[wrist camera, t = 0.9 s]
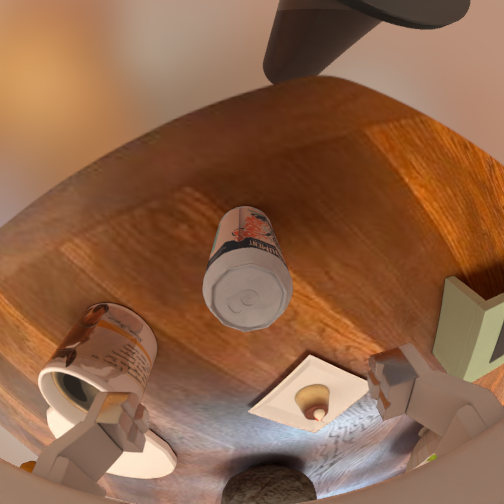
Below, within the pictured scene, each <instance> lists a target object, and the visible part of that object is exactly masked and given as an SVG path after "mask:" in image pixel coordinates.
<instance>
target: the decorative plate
mask: <svg viewBox="0 0 504 504" xmlns="http://www.w3.org/2000/svg"><path fill="white" fill-rule="evenodd" d="M47 419H48V425H49V428H50V430H51V431H52V433H53V434H54V436H55V437H56V438H57V439H58V438H59V437H60V436H62V435H63V434H64V433H66V432H67V431H68V430H70V429H71V428H72V427H74V426H73V425H72V424H70V423H69V422H67V421H66V420H65V419H63V418H62V417H61V416H60V415H59V414H58V413H56V412H55V411H54V410H53V409H52V407H51V406H50V407H49V408H48V410H47ZM144 436H145V438H146V442H145V445H144V449H143V453H137V452H123V454H122V455H121V456H120V457H119V458H118V459H117V460H116V462H115V463H114V464H113V465H112V466H111V467H110V468H109V469H108V470H107V471H106V472H108V473H112V474H116V475H120V476H126V477H134V478H144V479H149V478H158V477H163V476H165V475H167V474H169V473H171V472H173V470H174V468H175V466H176V464H177V457H176V456H175V454H174V453H173V451H172V450H171V448H170V446H169V445H168V444H167V443H166V442H165V441H163V440H162V439H161V438H159V437H158V436H157V435H156V434H154V433H153V432H152V431H150V430H148V431H147V432H146V433H145V434H144Z"/></svg>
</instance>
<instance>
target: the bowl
mask: <svg viewBox="0 0 504 504" xmlns="http://www.w3.org/2000/svg"><path fill="white" fill-rule="evenodd" d="M418 436H419V437H421V438H420V439H419V441H418V442H417V444H416V446H415V448H414V449H413V452H412V454H411V457H410V459H409V462H408V464H407V468H406V472H408V471H410V470H413V469H415V468H417V467H419V466H422V465H424V464H426V463H428V462H430V461H432V460H434V459H436V458H437V456H436V454H435V450H436V448H437V446H438V445H439V443H440V441H441V439H442V438H443V437H441V436H440V435H438V434H436V433H435V432H433V431H432V430H430V429H428V428H427V427H425V426H424V427H423V428H422V429H421V430H420V432H419V434H418Z"/></svg>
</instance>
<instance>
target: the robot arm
mask: <svg viewBox="0 0 504 504" xmlns="http://www.w3.org/2000/svg"><path fill="white" fill-rule="evenodd" d="M369 366H370V368H371V370H370V371H369V372H368V379H367V381H368V387H369V391H370V393H371V396H372V398H374V399H376V400H378V402H377V409H378V411H379V413H380V415H381V417H382V420H383V421H384V420H387V419H390V418H393V417H396V416H399V415H402V414H405V413H406V415H408V416H409V417H411V418H412V419H414V420H415V421H417V422H419V423H420V424H422V425H423V426H425V427H427V428H428V429H430V430H432V431H433V432H435V433H436V434H438V435H440V436H441V437H443V438H442V439H441V441H440V443H439V445H438V446H437V448H436V450H435V454H436V456H437V458H436V459H434V460H432V461H430V462H428V463H426V464H424V465H422V466H419V467H417V468H415V469H413V470H410V471H408V472H406V473H403V474H401V475H398V476H396V477H393V478H390V479H388V480H385V481H382V482H379V483H376V484H373V485H370V486H367V487H364V488H361V489H357V490H354V491H350V492H347V493H343V494H339V495H335V496H331V497H327V498H322V499H318V500H313V501H308V502H302V503H296V504H504V407H503V406H502V405H501V403H500V402H499V401H498V399H497V398H496V397H495V395H494V394H493V393H492V392H491V390H489V389H487V388H484V387H481V386H478V385H476V384H473V383H470V382H467V381H465V380H462V379H459V378H457V377H454V376H451V375H449V374H446V373H443V372H441V371H438V370H435V371H432V369H431V368H430V367H429V365H428V364H427V363H426V361H425V360H424V359H423V357H422V356H421V355H420V353H419V352H418V351H417V349H416V348H415V347H414V346H413V344H412V343H407V344H404V345H401V346H398V347H396V348H392V349H389V350H386V351H383V352H380V353H377V354H374V355H371V356H370V358H369ZM139 400H140V399H139V397H138V396H137V394H136V393H133V392H103V391H100V392H99V393H97V395H96V397H95V399H94V401H93V403H92V405H91V407H90V409H89V411H88V413H87V415H86V418H85V420H84V422H83V421H80V422H79V423H78V424H76V425H75V426H74V427H72V428H71V429H70V430H68V431H67V432H66V433H64V434H63V435H62V436H60V437H59V438H58V439H56V440H55V441H54V442H52V443H51V444H50V445H48V446H47V447H45V448H44V449H43V450H42V451H41V454H40V456H39V458H38V460H37V462H36V464H35V467H34V469H33V471H32V473H30V472H28V471H26V470H23V469H21V468H19V467H17V466H15V465H12V464H11V463H9V462H6V461H5V460H3V459H1V458H0V504H136V503H130V502H125V501H120V500H115V499H110V498H106V497H105V494H106V491H105V489H104V488H103V487H101V486H100V485H99V484H98V483H96V482H97V481H98V480H99V479H100V478H101V477H102V476H103V475H104V474H105V473H106V471H107V470H108V469H109V468H110V467H111V466H112V465H113V464H114V463H115V462H116V460H117V459H118V458H119V457H120V456H121V455H122V454H123V452H137V453H143V449H144V445H145V442H146V438H145V436H144V434H145V433H146V432H147V431H148V430H149V426H150V416H149V413H148V411H147V409H146V408H145V407H144V406H143V405H141V404H140V403H139Z"/></svg>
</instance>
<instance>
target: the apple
mask: <svg viewBox="0 0 504 504" xmlns="http://www.w3.org/2000/svg"><path fill="white" fill-rule="evenodd" d="M35 464H36V462H35V461H29V462H26V463H23V464H22V465H21V466H20V468H21V469H23V470H26V471H28V472H30V473H32V471H33V469H34V467H35Z"/></svg>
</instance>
